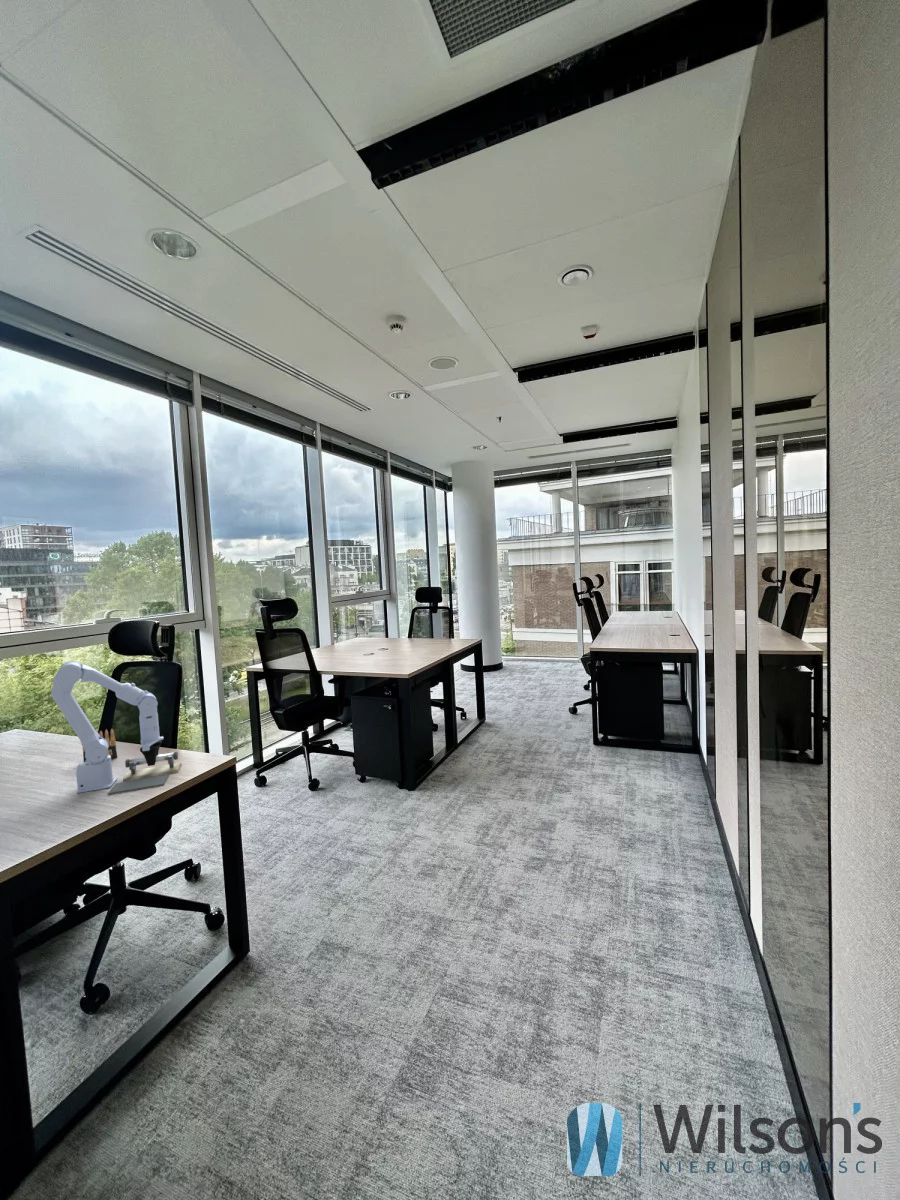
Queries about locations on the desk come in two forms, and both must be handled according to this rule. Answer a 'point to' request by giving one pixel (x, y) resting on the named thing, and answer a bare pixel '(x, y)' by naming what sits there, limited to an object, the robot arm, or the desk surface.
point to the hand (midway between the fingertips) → (152, 763)
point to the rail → (158, 759)
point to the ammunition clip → (111, 747)
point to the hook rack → (151, 770)
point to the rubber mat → (138, 784)
